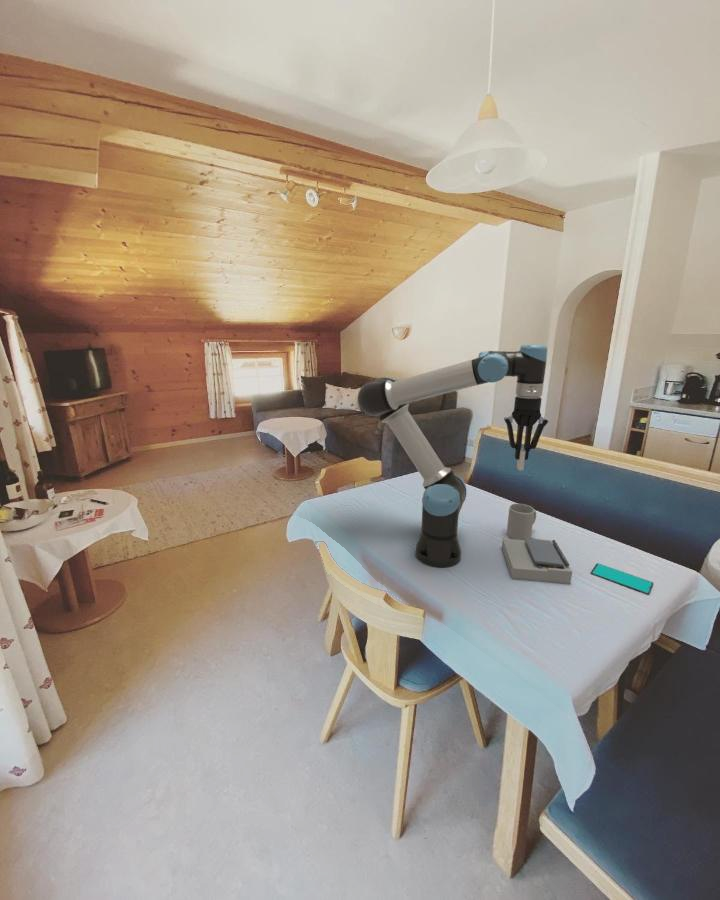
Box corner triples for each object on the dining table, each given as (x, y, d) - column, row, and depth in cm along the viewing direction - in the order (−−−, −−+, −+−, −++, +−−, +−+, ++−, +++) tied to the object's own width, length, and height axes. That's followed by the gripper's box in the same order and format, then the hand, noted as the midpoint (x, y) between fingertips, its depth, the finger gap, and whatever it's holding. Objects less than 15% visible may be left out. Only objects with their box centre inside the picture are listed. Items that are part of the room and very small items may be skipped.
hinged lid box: (511, 578, 119) (513, 566, 118) (501, 547, 136) (502, 536, 135) (570, 583, 117) (572, 571, 115) (552, 551, 134) (554, 540, 132)
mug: (519, 543, 139) (523, 515, 136) (501, 533, 146) (504, 506, 143) (542, 535, 144) (546, 508, 141) (523, 525, 151) (527, 499, 148)
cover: (534, 563, 119) (535, 559, 118) (524, 539, 132) (525, 536, 131) (568, 567, 117) (569, 563, 117) (554, 543, 130) (555, 540, 130)
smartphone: (596, 562, 126) (653, 582, 116) (596, 565, 126) (653, 584, 116) (590, 572, 121) (648, 594, 111) (589, 575, 121) (648, 596, 111)
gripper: (508, 398, 118) (501, 471, 125) (554, 398, 116) (544, 473, 123) (504, 394, 125) (497, 464, 132) (547, 395, 123) (538, 465, 130)
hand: (520, 468), depth 127 cm, fingers closed
